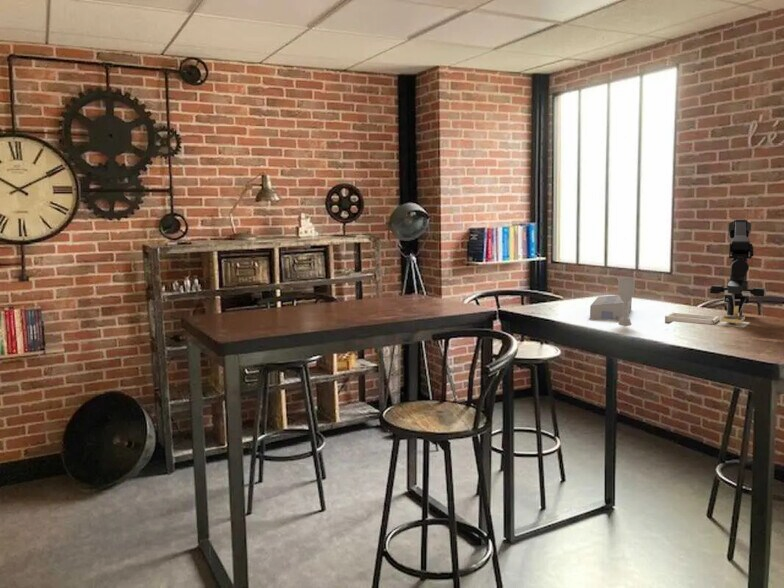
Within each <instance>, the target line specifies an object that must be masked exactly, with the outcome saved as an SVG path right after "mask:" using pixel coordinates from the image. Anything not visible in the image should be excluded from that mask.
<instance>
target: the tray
mask: <svg viewBox="0 0 784 588" xmlns="http://www.w3.org/2000/svg"><path fill="white" fill-rule="evenodd" d="M666 322H668V323H667V324H669V323H670V324H671V323H673V322H683V323H697V324H706V325H715V324H716V323H717V322H720V316H717V315H706V314H695V313H683V312H670V313H669V314H667V315H665V316H664V323H666Z"/></svg>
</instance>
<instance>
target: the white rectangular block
mask: <svg viewBox="0 0 784 588" xmlns="http://www.w3.org/2000/svg"><path fill="white" fill-rule="evenodd" d="M736 318H737V315H732V316H730V319H736ZM750 323H751V322H749V321H742V322H741V323H732V322H721V321H719V322H718V323H717V324H716V326H724V327H734V328H746V327H747V326H748V325H749V324H750Z"/></svg>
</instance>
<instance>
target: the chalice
mask: <svg viewBox="0 0 784 588" xmlns="http://www.w3.org/2000/svg"><path fill="white" fill-rule="evenodd" d="M616 279H617V282H618V283H617V292H618V295H619V296H620V298H621V300H622V301H623V302H624V311H623V312H624V317H623V318H621V319H620V320H618V322H617V323H618V325H621V326H631V325H632V322H631V319H630V318H629V317H628V318H627V315H626V314H627V302H629V301H630V299H631V298H633V296H634V293H635V287H636V286H635V285H636V283H635V282H636V280H637V278H635V277H617V278H616Z"/></svg>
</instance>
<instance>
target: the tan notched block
mask: <svg viewBox="0 0 784 588" xmlns="http://www.w3.org/2000/svg"><path fill="white" fill-rule="evenodd" d="M733 315H737V318H736V319H730V316H732V315H726V314H725V315H724V316H723V317H722V318H721V321H720V322H732V323H741V322H744V321H745V319H746V316H745V315H744V316H740V315H739V306H734V314H733Z"/></svg>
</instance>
